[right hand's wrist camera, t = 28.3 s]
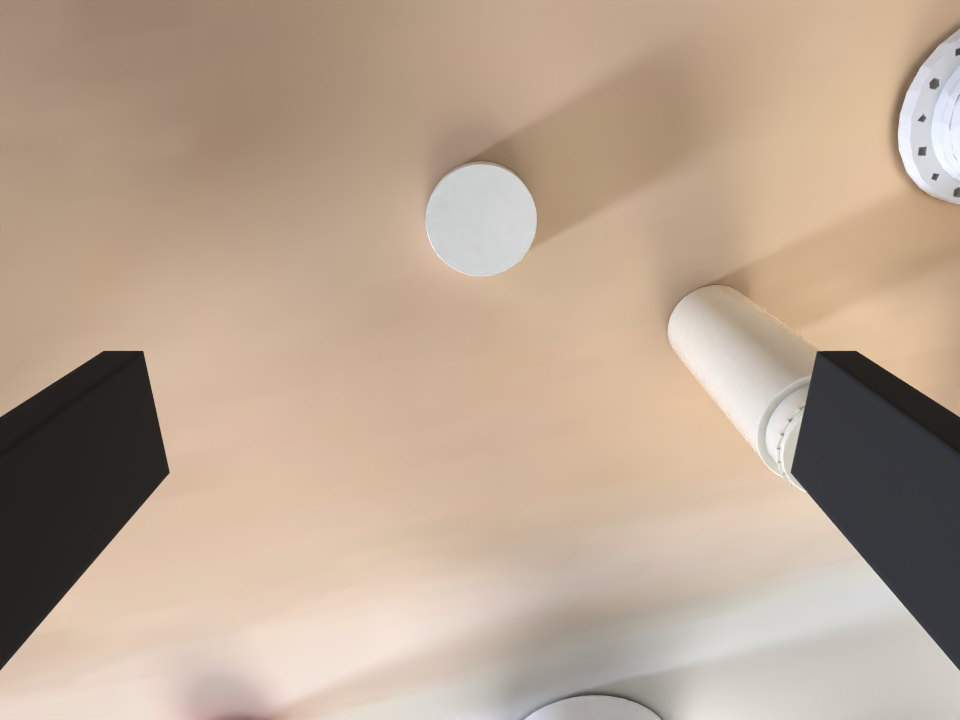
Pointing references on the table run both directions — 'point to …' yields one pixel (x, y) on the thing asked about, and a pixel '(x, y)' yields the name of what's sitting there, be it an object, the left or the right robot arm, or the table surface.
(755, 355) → the jar
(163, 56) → the table surface
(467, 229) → the lid
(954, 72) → the mechanical component
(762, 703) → the table surface
